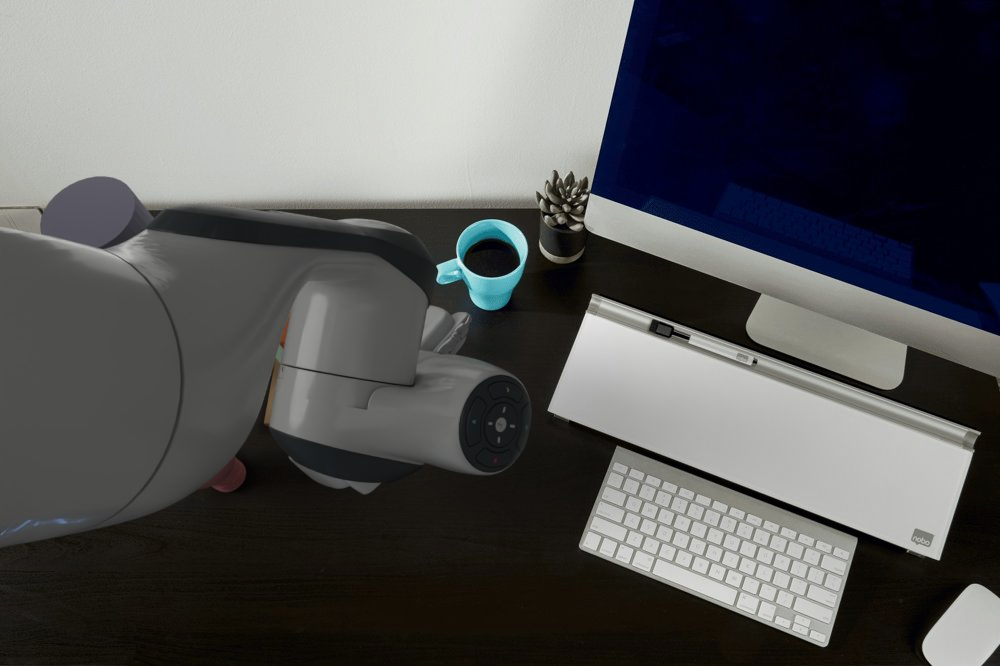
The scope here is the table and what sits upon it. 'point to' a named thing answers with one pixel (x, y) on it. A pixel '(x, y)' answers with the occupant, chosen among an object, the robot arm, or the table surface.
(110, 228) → the container
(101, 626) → the table surface
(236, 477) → the light bulb
